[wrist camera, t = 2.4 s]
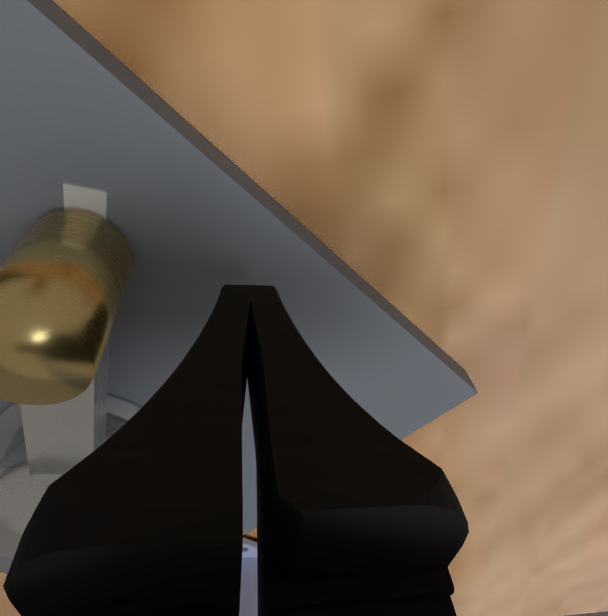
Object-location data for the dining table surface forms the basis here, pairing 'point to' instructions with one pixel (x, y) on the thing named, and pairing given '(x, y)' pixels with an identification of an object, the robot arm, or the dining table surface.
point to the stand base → (185, 235)
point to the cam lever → (56, 354)
